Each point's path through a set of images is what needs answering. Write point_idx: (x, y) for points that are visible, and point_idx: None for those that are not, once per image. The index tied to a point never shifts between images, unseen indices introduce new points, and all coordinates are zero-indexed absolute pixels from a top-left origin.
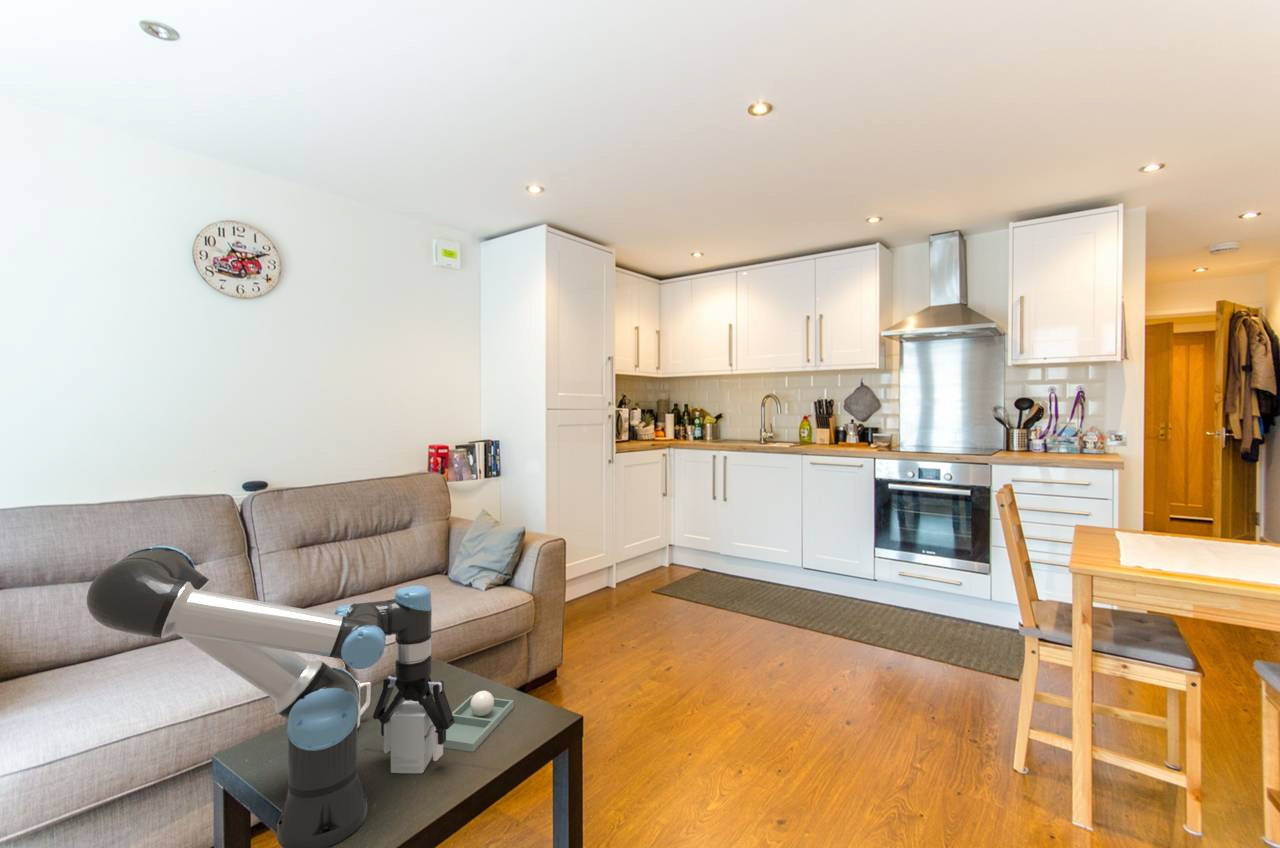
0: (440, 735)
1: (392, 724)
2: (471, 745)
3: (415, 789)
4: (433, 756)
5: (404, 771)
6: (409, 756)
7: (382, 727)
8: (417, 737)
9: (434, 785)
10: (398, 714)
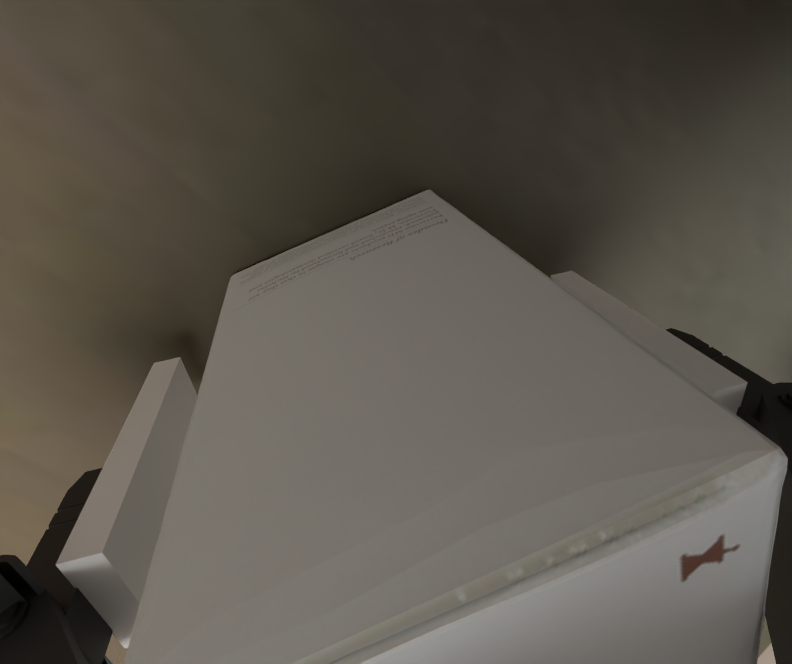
0: (65, 543)
1: (634, 365)
2: None
3: (107, 111)
4: (171, 375)
5: (342, 227)
6: (315, 277)
7: (728, 367)
8: (244, 407)
9: (27, 211)
10: (671, 565)
